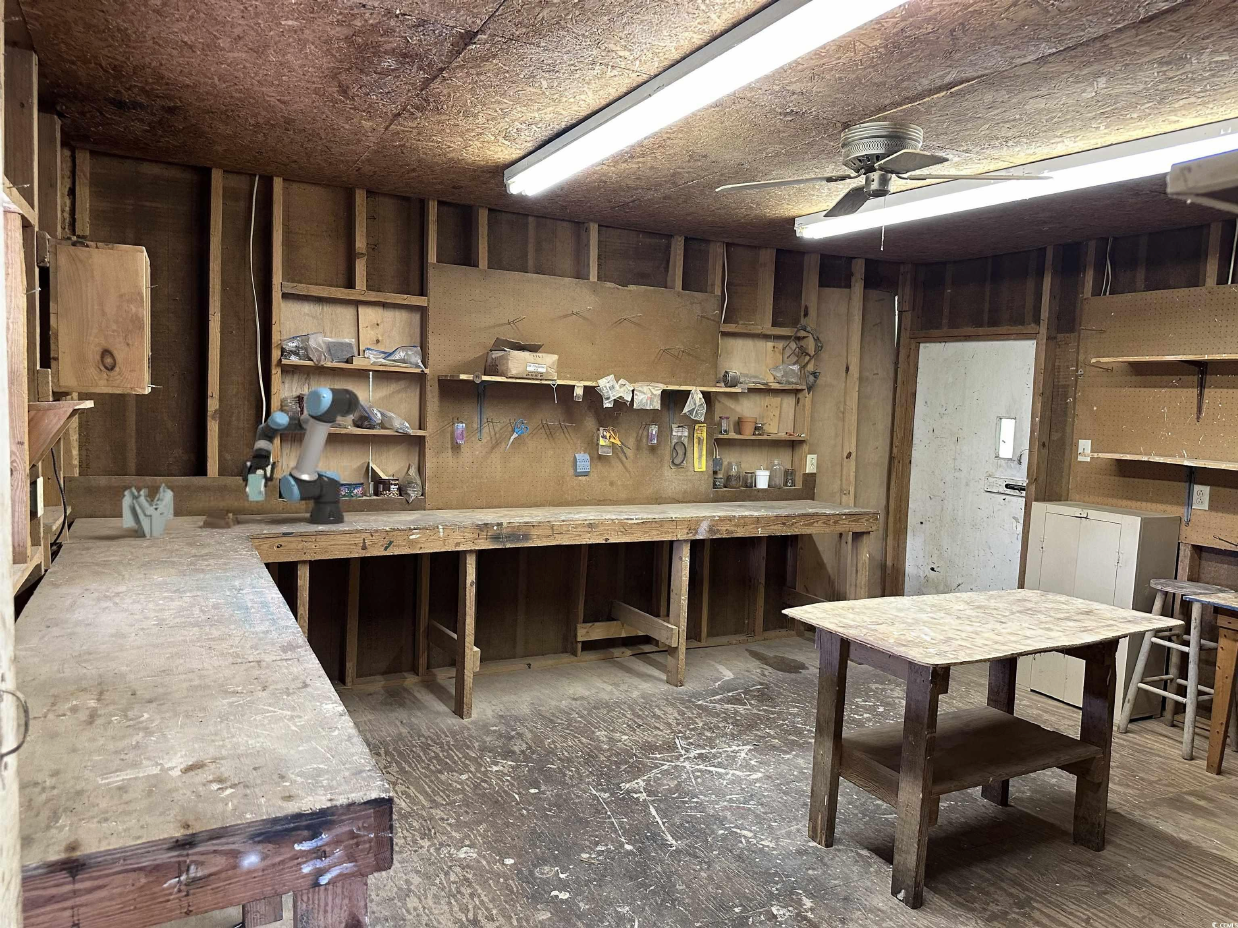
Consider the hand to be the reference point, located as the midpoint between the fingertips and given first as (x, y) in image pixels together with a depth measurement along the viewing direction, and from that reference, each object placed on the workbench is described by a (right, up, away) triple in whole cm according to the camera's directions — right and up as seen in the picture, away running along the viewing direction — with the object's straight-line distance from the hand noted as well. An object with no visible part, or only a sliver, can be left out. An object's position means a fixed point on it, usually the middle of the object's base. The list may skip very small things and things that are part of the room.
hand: (254, 492), depth 349 cm
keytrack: (-15, -14, +2) cm, 21 cm away
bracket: (-29, -16, -28) cm, 43 cm away
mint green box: (-1, -3, +4) cm, 5 cm away
